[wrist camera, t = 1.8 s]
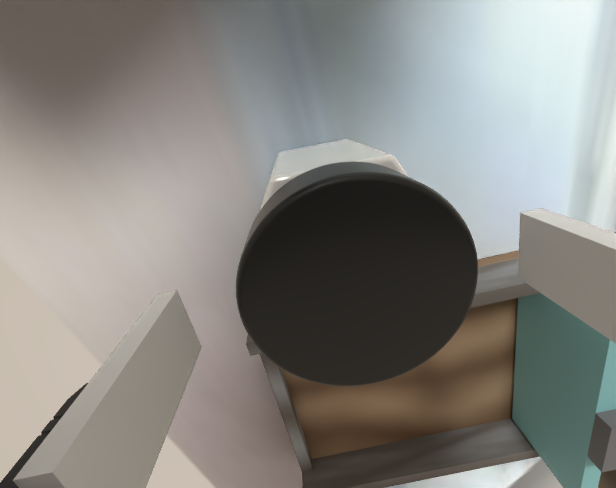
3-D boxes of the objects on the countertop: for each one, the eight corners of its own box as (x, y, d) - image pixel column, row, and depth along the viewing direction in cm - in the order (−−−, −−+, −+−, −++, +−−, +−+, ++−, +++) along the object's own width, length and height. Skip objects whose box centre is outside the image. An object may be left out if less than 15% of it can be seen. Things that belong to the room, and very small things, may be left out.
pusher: (519, 276, 23) (629, 352, 15) (546, 271, 23) (670, 344, 15) (512, 418, 29) (589, 523, 21) (533, 414, 29) (619, 517, 21)
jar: (271, 268, 23) (255, 409, 12) (244, 155, 20) (186, 204, 9) (391, 246, 23) (488, 367, 12) (382, 129, 20) (502, 145, 9)
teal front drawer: (252, 309, 24) (236, 393, 17) (560, 241, 23) (686, 298, 16) (303, 457, 31) (308, 563, 24) (543, 408, 30) (625, 501, 23)
